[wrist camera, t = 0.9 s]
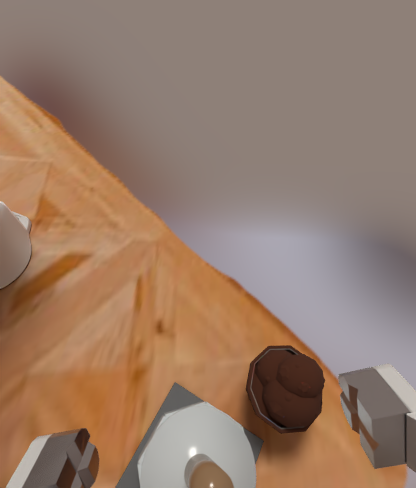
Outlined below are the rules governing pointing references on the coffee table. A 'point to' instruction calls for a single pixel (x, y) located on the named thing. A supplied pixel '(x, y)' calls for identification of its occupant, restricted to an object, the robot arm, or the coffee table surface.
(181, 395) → the mat
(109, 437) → the coffee table surface
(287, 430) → the ice cream bowl
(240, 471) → the hexagonal peg stand
